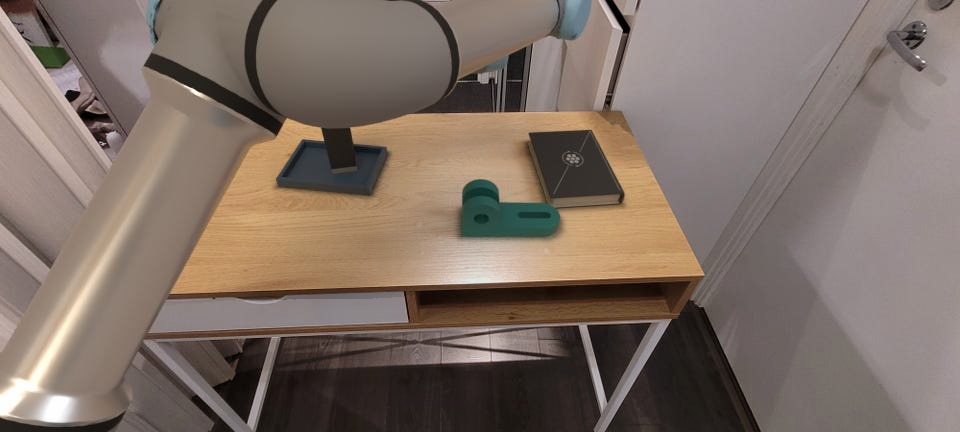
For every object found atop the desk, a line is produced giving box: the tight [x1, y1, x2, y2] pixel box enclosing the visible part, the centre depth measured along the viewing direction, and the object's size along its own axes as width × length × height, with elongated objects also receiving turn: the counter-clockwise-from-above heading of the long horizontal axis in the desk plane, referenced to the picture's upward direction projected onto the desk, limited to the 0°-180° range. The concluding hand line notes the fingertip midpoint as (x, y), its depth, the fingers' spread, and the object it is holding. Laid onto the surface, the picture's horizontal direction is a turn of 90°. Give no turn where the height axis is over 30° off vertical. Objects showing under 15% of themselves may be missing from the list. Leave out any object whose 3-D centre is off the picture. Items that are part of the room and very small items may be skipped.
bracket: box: [461, 178, 561, 238], centre depth 83 cm, size 18×7×8 cm, turn 91°
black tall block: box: [320, 128, 357, 174], centre depth 90 cm, size 5×4×15 cm
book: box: [526, 129, 626, 209], centre depth 96 cm, size 22×15×3 cm
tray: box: [275, 138, 389, 196], centre depth 94 cm, size 19×14×2 cm
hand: (279, 65), depth 72 cm, fingers open, 13 cm apart
